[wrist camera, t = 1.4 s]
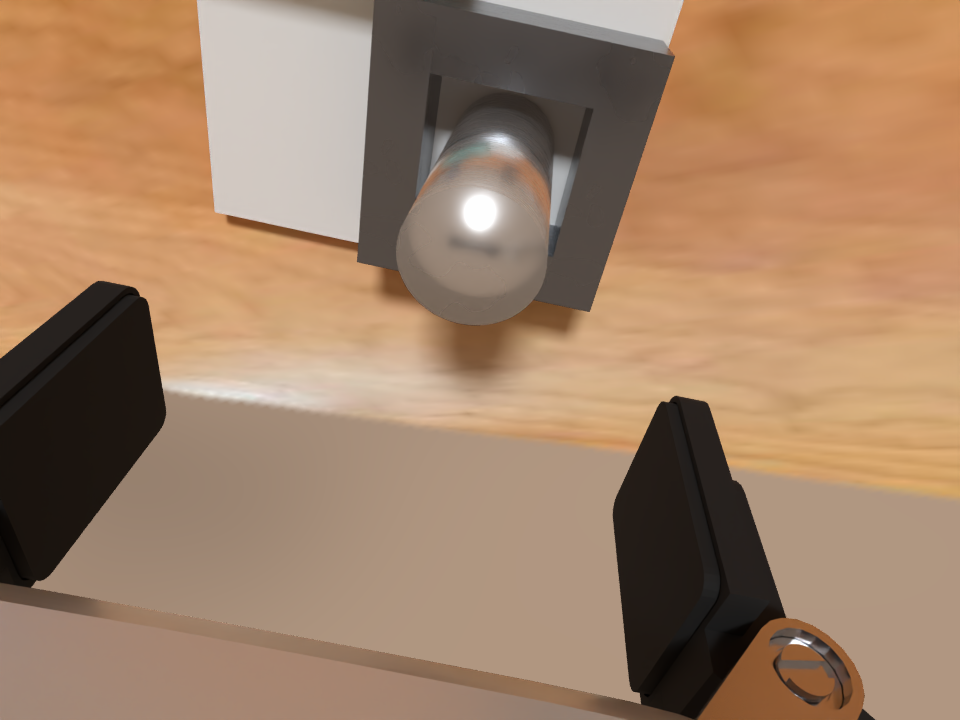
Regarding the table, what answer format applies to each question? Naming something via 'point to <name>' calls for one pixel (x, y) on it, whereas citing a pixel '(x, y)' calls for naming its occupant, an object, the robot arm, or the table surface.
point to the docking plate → (342, 102)
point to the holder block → (520, 68)
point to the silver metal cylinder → (483, 215)
